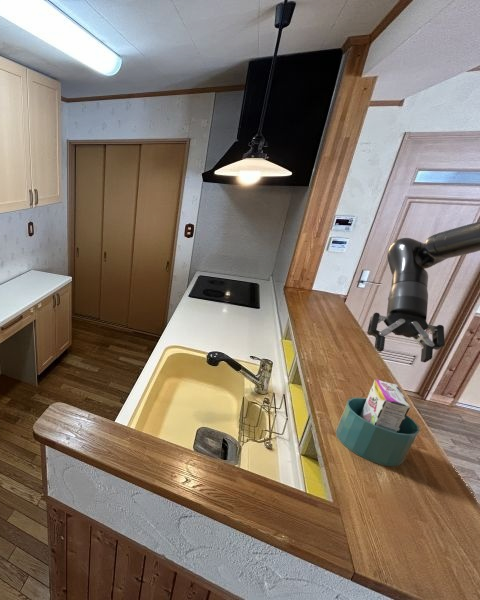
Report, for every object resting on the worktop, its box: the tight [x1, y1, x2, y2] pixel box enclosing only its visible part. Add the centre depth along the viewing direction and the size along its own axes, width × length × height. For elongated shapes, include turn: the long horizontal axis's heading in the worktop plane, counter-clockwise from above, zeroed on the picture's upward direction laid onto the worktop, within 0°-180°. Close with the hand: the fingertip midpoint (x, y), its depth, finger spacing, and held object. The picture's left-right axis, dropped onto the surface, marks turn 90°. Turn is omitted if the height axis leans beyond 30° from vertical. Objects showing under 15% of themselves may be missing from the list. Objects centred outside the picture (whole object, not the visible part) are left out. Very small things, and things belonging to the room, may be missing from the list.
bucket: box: [335, 397, 421, 467], centre depth 86 cm, size 14×14×10 cm
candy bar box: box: [360, 378, 411, 433], centre depth 85 cm, size 11×5×16 cm, turn 150°
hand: (402, 355), depth 82 cm, fingers open, 8 cm apart
